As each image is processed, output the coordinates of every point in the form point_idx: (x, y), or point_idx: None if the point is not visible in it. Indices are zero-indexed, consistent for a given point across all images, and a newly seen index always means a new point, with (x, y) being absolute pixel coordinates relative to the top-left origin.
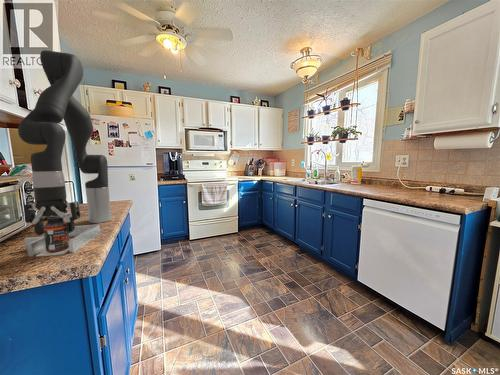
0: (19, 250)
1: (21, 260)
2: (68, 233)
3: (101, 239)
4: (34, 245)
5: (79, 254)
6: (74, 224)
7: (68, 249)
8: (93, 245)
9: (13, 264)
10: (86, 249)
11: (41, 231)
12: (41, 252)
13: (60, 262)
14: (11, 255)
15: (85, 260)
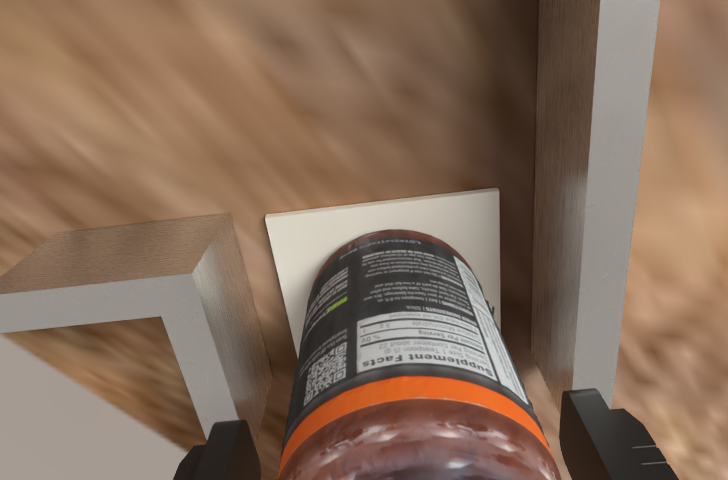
0: (13, 260)
1: (260, 428)
2: (513, 362)
3: (705, 20)
4: (249, 412)
5: (628, 382)
6: (675, 474)
7: (491, 310)
8: (673, 212)
9: (268, 470)
10: (642, 299)
11: (245, 477)
12: (295, 344)
13: (560, 473)
14: (77, 349)
15: (714, 465)
